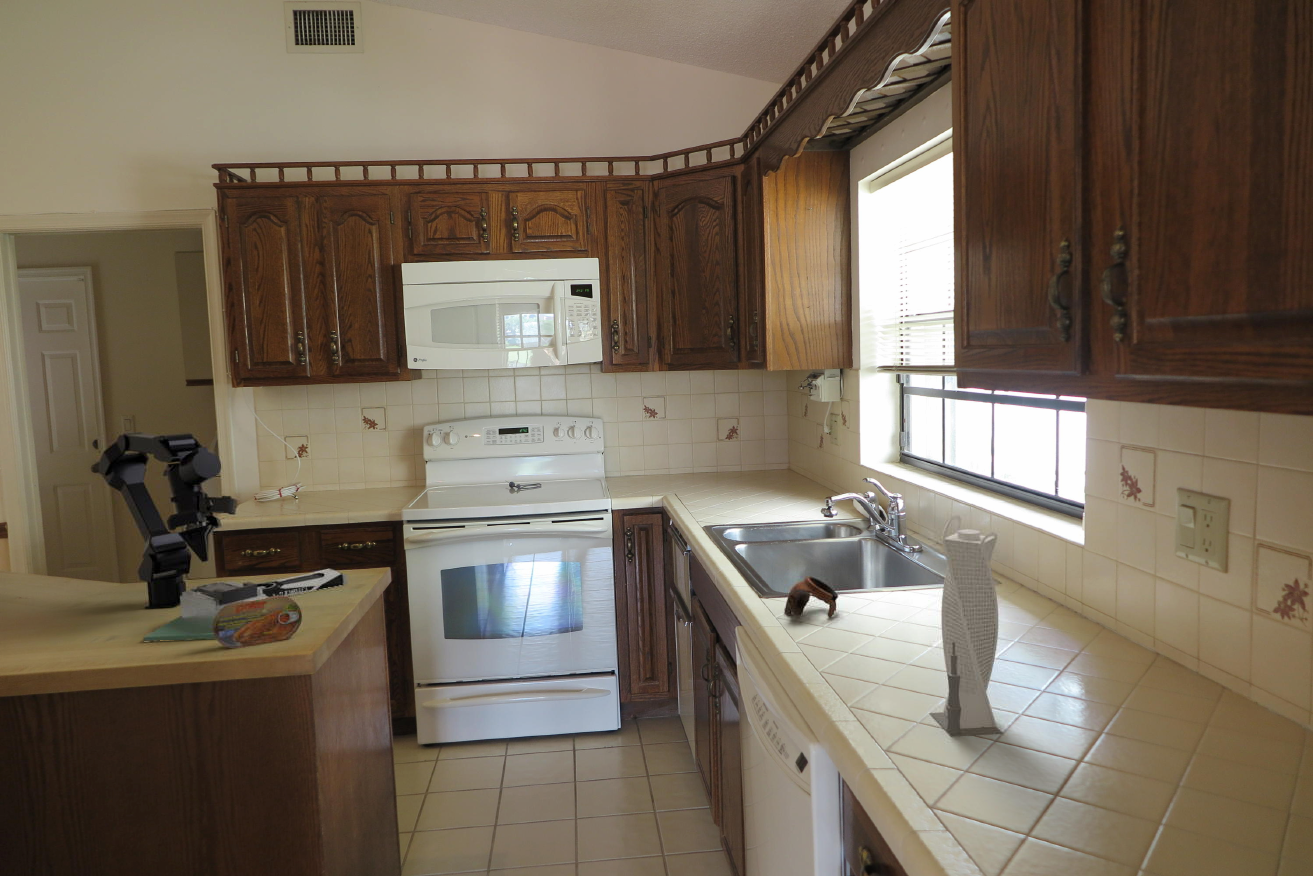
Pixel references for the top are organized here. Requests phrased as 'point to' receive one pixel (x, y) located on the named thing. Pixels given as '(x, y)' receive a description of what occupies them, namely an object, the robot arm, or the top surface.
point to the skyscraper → (968, 632)
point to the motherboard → (180, 631)
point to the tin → (257, 621)
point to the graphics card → (303, 583)
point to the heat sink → (215, 602)
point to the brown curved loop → (801, 596)
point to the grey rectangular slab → (212, 588)
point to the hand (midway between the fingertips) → (205, 561)
